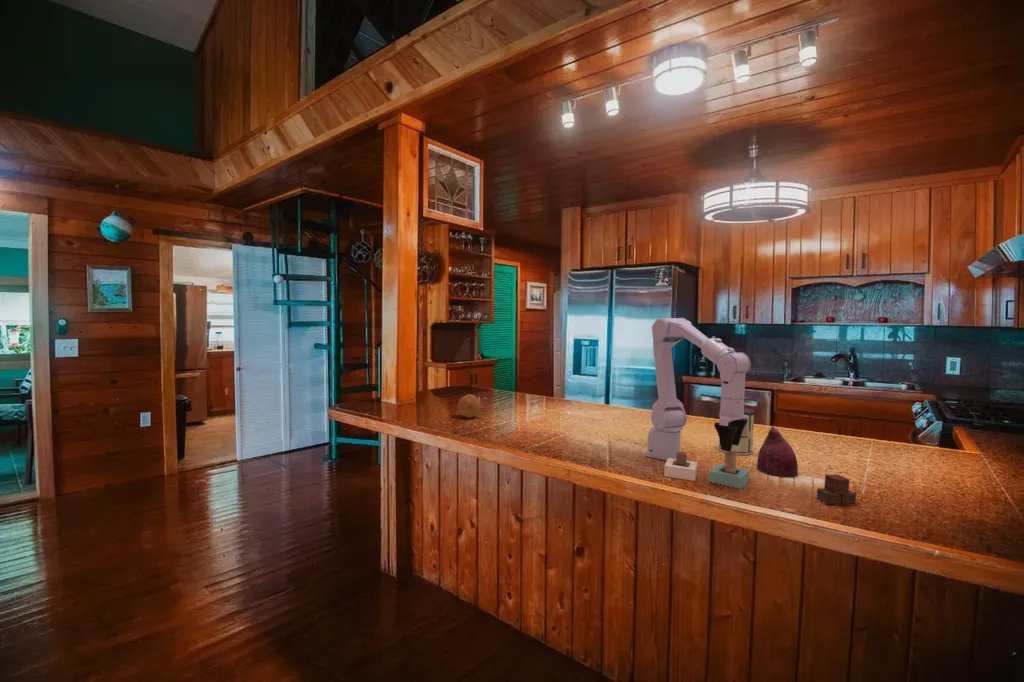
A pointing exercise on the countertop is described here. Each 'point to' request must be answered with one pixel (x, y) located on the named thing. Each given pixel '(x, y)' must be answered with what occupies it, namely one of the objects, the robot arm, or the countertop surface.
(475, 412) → the onion
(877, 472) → the countertop surface
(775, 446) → the vegetable
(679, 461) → the walnut dowel
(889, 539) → the countertop surface
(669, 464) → the white peg holder
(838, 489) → the stack of crates
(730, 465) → the maple dowel
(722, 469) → the teal square frame block
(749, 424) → the coffee can
